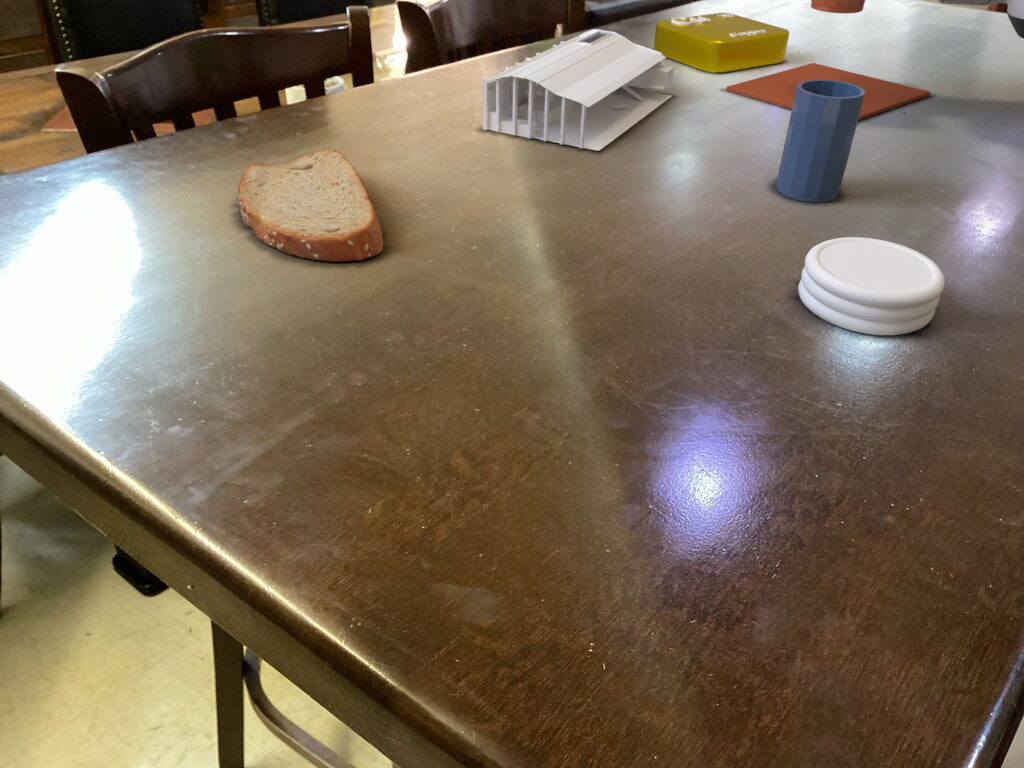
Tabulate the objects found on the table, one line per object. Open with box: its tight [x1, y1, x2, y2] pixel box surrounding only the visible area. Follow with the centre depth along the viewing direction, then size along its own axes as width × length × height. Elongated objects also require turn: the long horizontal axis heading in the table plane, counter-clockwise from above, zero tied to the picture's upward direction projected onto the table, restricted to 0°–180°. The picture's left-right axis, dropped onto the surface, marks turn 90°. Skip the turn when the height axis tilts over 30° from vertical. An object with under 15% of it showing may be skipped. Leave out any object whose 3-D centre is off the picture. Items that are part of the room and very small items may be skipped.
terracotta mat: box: [725, 62, 931, 121], centre depth 109 cm, size 18×20×1 cm
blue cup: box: [775, 79, 866, 203], centre depth 79 cm, size 6×6×10 cm
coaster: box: [797, 236, 946, 336], centre depth 62 cm, size 10×10×4 cm
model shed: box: [481, 28, 675, 152], centre depth 99 cm, size 25×15×7 cm, turn 151°
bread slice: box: [237, 148, 384, 262], centre depth 75 cm, size 18×18×4 cm
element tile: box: [653, 12, 790, 74], centre depth 122 cm, size 15×15×5 cm
